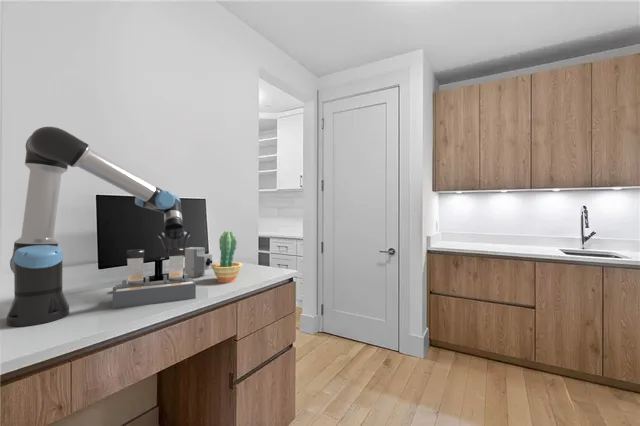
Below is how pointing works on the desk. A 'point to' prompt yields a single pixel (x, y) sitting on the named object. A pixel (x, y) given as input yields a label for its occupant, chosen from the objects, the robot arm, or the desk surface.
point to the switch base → (153, 292)
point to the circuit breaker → (196, 261)
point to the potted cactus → (227, 259)
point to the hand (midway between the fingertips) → (176, 265)
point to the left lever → (135, 266)
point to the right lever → (176, 264)
